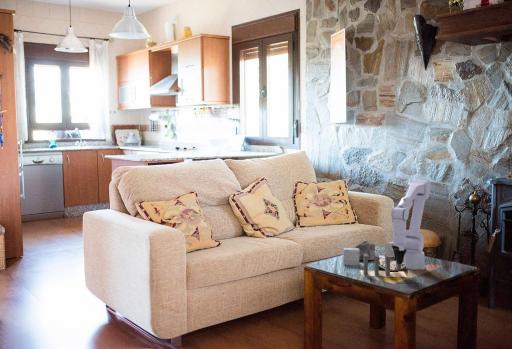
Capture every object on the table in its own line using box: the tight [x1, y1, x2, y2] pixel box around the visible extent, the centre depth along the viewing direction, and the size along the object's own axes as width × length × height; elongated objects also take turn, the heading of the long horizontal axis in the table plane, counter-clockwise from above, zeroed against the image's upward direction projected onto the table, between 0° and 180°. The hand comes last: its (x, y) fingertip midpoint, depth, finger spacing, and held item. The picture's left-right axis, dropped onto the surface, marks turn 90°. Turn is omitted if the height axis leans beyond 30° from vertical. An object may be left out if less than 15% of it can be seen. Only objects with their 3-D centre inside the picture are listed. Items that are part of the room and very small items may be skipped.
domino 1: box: [373, 253, 380, 277], centre depth 245 cm, size 2×5×9 cm, turn 174°
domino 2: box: [384, 253, 391, 277], centre depth 244 cm, size 2×5×9 cm, turn 174°
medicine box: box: [342, 247, 360, 266], centre depth 263 cm, size 8×4×9 cm, turn 84°
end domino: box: [362, 254, 369, 275], centre depth 245 cm, size 2×5×9 cm, turn 174°
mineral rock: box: [354, 240, 376, 261], centre depth 275 cm, size 13×11×10 cm
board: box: [359, 269, 408, 278], centre depth 246 cm, size 20×9×1 cm, turn 84°
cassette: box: [384, 242, 394, 256], centre depth 279 cm, size 12×2×8 cm, turn 63°
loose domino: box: [395, 260, 402, 271], centre depth 243 cm, size 2×5×9 cm, turn 174°
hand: (398, 262), depth 244 cm, fingers closed on loose domino, 5 cm apart
